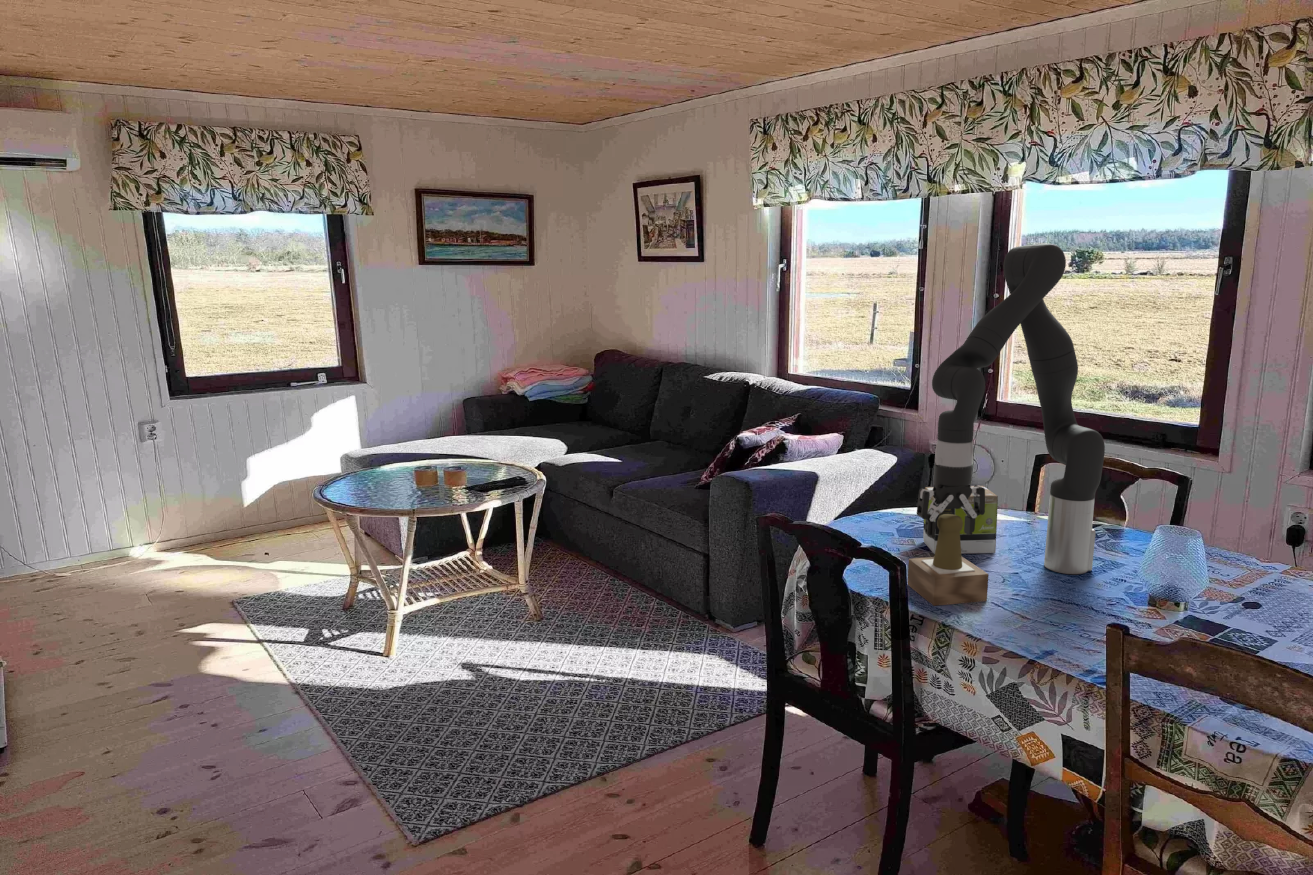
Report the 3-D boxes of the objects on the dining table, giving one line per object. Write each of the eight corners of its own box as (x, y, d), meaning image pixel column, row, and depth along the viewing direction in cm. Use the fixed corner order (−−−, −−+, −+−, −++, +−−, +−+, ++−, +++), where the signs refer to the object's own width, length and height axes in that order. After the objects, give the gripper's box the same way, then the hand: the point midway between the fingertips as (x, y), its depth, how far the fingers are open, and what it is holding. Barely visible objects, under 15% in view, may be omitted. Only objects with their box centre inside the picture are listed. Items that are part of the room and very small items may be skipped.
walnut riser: (957, 580, 195) (959, 553, 194) (986, 601, 184) (988, 572, 182) (907, 584, 193) (908, 557, 192) (933, 605, 182) (935, 577, 180)
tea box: (981, 541, 221) (985, 484, 218) (995, 554, 211) (999, 495, 208) (921, 541, 221) (924, 485, 218) (933, 555, 212) (936, 496, 208)
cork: (964, 570, 184) (967, 520, 181) (934, 568, 185) (937, 519, 182) (960, 560, 189) (963, 512, 187) (931, 559, 191) (934, 510, 188)
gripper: (975, 455, 187) (971, 527, 191) (913, 459, 185) (909, 532, 188) (995, 463, 180) (989, 538, 183) (930, 467, 177) (926, 543, 181)
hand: (949, 535), depth 186 cm, fingers open, 8 cm apart
